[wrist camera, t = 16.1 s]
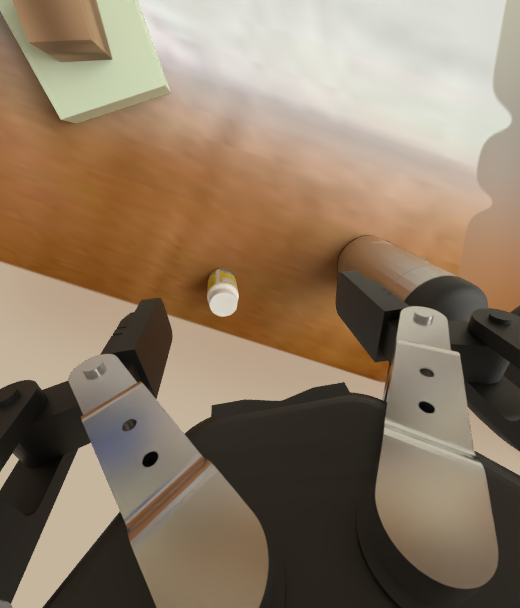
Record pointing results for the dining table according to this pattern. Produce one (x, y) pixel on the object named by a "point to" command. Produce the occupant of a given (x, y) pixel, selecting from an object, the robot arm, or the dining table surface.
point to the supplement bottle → (222, 292)
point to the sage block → (98, 65)
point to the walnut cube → (65, 28)
